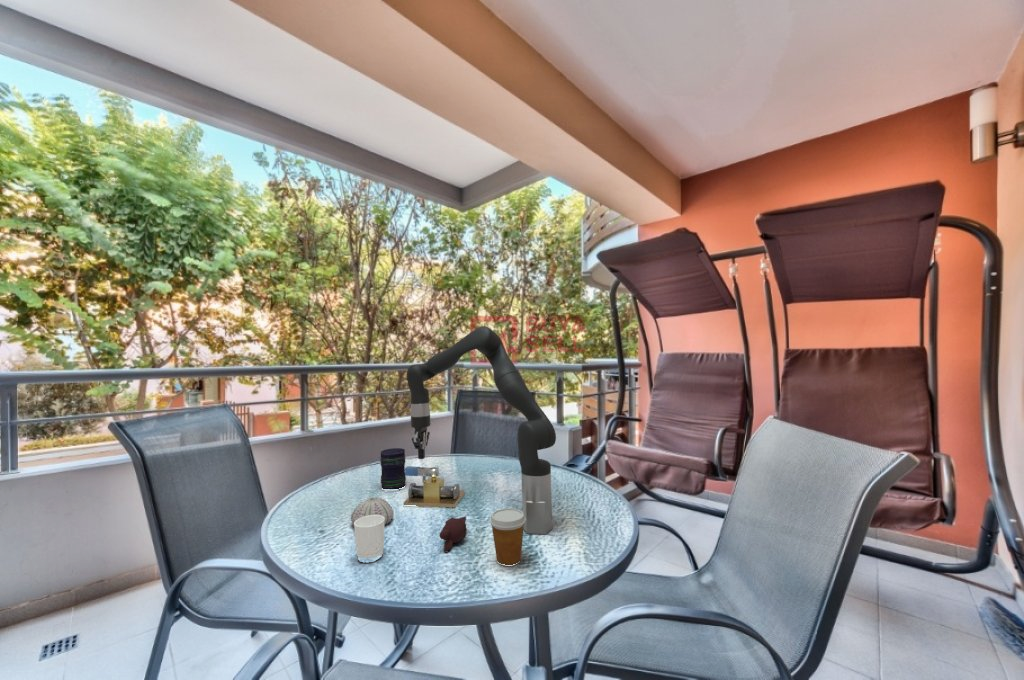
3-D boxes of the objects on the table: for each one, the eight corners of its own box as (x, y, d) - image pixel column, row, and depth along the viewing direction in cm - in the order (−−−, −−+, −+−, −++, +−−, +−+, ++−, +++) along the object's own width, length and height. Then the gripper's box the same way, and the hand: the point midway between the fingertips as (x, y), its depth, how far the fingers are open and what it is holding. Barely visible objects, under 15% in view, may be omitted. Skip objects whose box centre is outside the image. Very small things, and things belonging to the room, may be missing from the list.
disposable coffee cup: (483, 561, 107) (482, 515, 108) (509, 547, 114) (508, 504, 114) (508, 574, 101) (507, 525, 101) (534, 559, 107) (532, 514, 108)
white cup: (375, 547, 116) (374, 512, 117) (391, 555, 111) (390, 519, 112) (349, 559, 110) (348, 522, 111) (364, 568, 105) (364, 529, 106)
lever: (440, 474, 152) (440, 466, 153) (436, 477, 149) (436, 469, 149) (408, 473, 155) (408, 465, 155) (404, 476, 152) (404, 468, 152)
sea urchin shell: (368, 513, 142) (368, 490, 142) (402, 517, 137) (401, 493, 138) (341, 529, 129) (341, 504, 129) (378, 534, 125) (377, 508, 125)
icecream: (452, 508, 128) (427, 533, 113) (472, 504, 125) (450, 530, 111) (458, 529, 127) (435, 557, 113) (479, 526, 125) (458, 554, 111)
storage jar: (375, 490, 164) (375, 453, 164) (390, 482, 173) (389, 447, 173) (397, 492, 161) (396, 454, 161) (410, 484, 170) (409, 448, 170)
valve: (454, 508, 144) (453, 478, 144) (403, 506, 146) (402, 477, 147) (464, 493, 157) (464, 466, 158) (418, 492, 160) (417, 465, 160)
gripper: (422, 417, 154) (424, 463, 153) (435, 411, 167) (436, 454, 166) (404, 417, 155) (405, 463, 154) (418, 412, 168) (419, 454, 167)
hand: (421, 458), depth 160 cm, fingers closed
